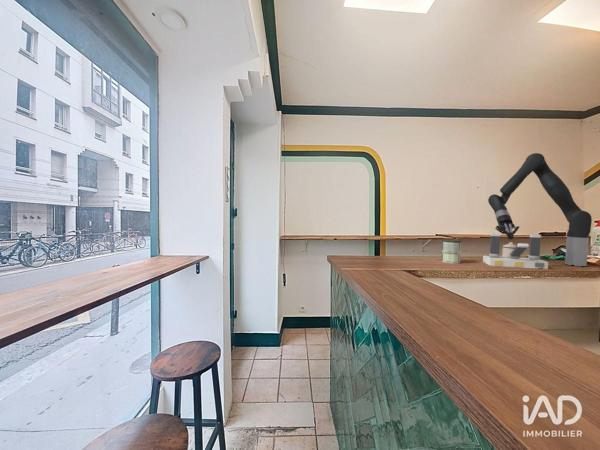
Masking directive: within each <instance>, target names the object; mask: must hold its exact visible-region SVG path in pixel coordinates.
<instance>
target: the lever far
mask: <svg viewBox="0 0 600 450" xmlns="http://www.w3.org/2000/svg"><path fill="white" fill-rule="evenodd" d="M501 234H502V233H501V232H498V233H496V232H494V233H493V232H492V233H491V232H490V241H489V243H490V244H489V245H490V246H489V254H488V256H489V257H497V258H499V257H501V255H500V244H501Z"/></svg>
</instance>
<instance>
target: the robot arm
mask: <svg viewBox="0 0 600 450" xmlns="http://www.w3.org/2000/svg"><path fill="white" fill-rule="evenodd" d="M531 173H534V174H535V175H536V177H537V178H538V180H539V182H540V184H541V186H542V188H543V189H544V190H545V192H546V193H547V195H548V196H549V197H550V198H551V200H552V201H553V202H554V203H555V204H556V205H557V206H558V207H559V208H560V209H559V210H561V211H562V214H563V215H564V217H565V219H566V221H567V222H568V230H567V232H566V244H565V257H564V258H565V259H564V265H566V264H567V266H571V265H574V266H573V267H581V266H586V267H587V264H588V254H589V239H590V233H591V228H592V221H593V219H592V218H593V217H592V215H591V213H589V212H588V211H585V210H582V209H581V208H580V207H579V206H578V205H577V204H576V202H575V199H573V195H572V192H570V190H569V187H568V186H567V185H566V184H565V182H564V181H563V180H562V179H561V178H560V177H559V176H558V175H557V174H556V173H555V172H554V171H553V170H552V169H551V168H550V166H549V164H548V163H547V161H546V158H545V156H544V155H543V154H541V153H539V152H535V153H531V154H529V155H528V156H527V157H526V159H525V161H524V162H523V163H522V165H521V166H520V168H519V169H518V170H517V171H516V173H514V175H513V176H511V177H510V178H509V179H508V181H507V182H506V183H504V184H503V186H502V187H501V188H500V189H499V192H500V193H501V195H499V194H491V195H489V197H488V199H487V202H488V204H489V205H490V207H491V209H492V210H493V212H494V215H495V219H496V221H497V225H496V226H495V230H496V231H498V233H500V234H502V235H506V237H507V239H508V240H513V239H514V238H515V237H514V235H515V234H516V233H517V232H518V230H519V229H520V226H516V225H515V224H514V222H513V220H512V217H511V214H510V212H509V211H508V208H507V206H506V204H507V202H508V201H509V199H510V197H511V196H512V194H514V192H515V191H516V190H517V189H518V188H519V187H520V185H521V184H522V183H523V182H524V181H525V179H526V178H527V177H528V176H529V175H531Z"/></svg>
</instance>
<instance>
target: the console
mask: <svg viewBox="0 0 600 450" xmlns="http://www.w3.org/2000/svg"><path fill="white" fill-rule="evenodd" d="M482 262H483V263H484V264H486V265H488V266H492V267H504V268H505V267H507V268H508V267H509V268H523V269H525V268H526V269H538V268H543V269H542V270H548V269H549V261H547V260H543V259H540V260H535V259H528V257H520V258H519V259H516V258H509V257H502V256H500V257H499V258H497V257H489V255H483V256H482Z"/></svg>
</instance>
